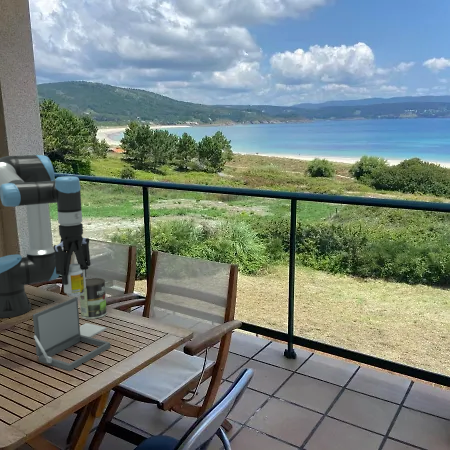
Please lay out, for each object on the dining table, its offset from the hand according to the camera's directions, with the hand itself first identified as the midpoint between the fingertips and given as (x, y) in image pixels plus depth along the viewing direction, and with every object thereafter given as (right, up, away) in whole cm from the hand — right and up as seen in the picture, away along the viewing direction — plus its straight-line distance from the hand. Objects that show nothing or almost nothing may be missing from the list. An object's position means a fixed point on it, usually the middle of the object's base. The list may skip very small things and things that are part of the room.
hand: (75, 290), depth 151 cm
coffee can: (-3, -15, +31) cm, 35 cm away
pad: (-1, -18, +14) cm, 23 cm away
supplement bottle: (0, -2, 0) cm, 2 cm away
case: (+1, -21, -3) cm, 21 cm away
